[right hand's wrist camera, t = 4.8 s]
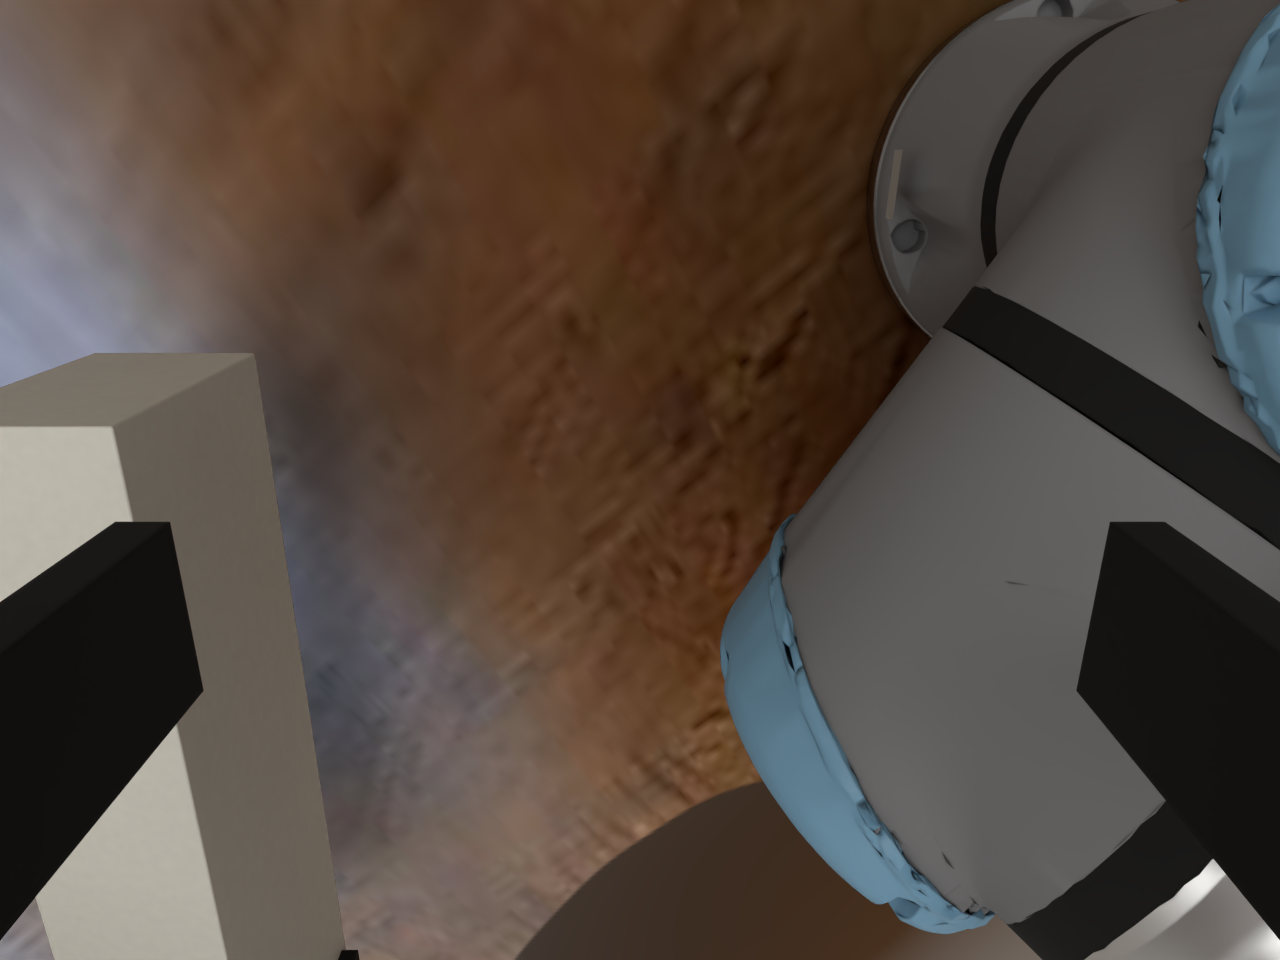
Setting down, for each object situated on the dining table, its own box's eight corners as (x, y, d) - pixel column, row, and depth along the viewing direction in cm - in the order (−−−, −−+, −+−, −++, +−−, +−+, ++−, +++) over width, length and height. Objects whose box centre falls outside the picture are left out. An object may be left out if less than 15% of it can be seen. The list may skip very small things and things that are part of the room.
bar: (94, 352, 31) (-111, 426, 23) (255, 352, 31) (111, 426, 23) (239, 1023, 42) (139, 1241, 34) (357, 1023, 42) (287, 1240, 34)
